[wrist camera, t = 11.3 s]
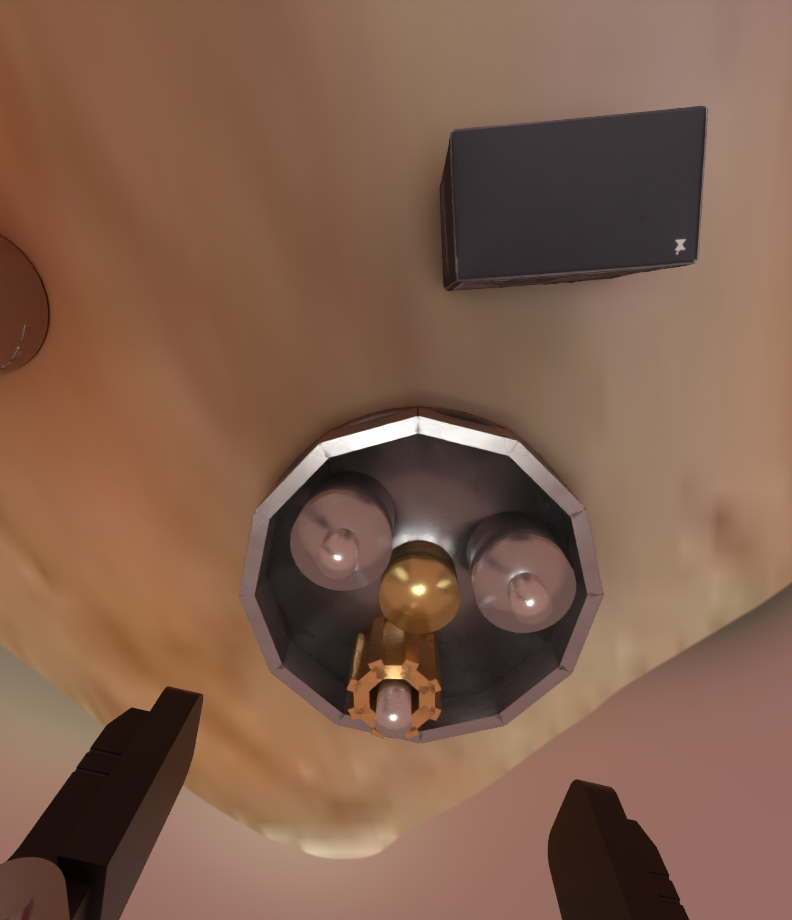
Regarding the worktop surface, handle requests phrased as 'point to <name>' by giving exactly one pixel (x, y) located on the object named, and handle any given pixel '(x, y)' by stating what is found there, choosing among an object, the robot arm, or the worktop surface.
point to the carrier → (423, 567)
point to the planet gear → (394, 672)
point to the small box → (572, 198)
